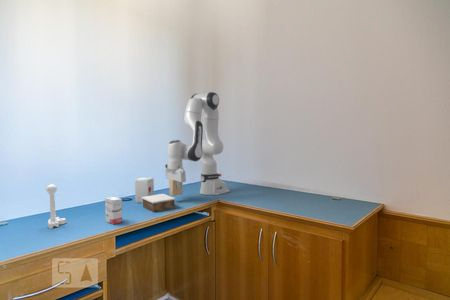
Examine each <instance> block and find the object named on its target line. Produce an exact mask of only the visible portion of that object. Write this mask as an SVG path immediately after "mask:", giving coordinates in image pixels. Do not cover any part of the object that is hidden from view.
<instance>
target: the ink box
mask: <svg viewBox="0 0 450 300" xmlns="http://www.w3.org/2000/svg"><path fill="white" fill-rule="evenodd" d="M104 200H105V202H104V203H105V204H104V205H105V206H104V208H105V222H106V223H110V224H112V225H116V224H120V223H123V201H122V200H123V199H122V198H119V197H116V196H110V197H106V198H105V199H104Z"/></svg>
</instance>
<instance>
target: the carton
mask: <svg viewBox="0 0 450 300" xmlns="http://www.w3.org/2000/svg"><path fill="white" fill-rule="evenodd" d="M168 184H169V185H168V186H169V187H168V188H169V189H168V190H169V192H168V193H169V195H168V196H171V197H176V196H182V195H183V194H184V193H183V192H184V191H183V189H184V188H183V182H181V184H180V188H176V185H177V181H175V180H173V179H168Z"/></svg>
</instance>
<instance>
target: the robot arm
mask: <svg viewBox="0 0 450 300" xmlns="http://www.w3.org/2000/svg"><path fill="white" fill-rule="evenodd" d="M219 104H220V97H219V95H218V93H216V92H214V91H213V92H212V91H210V92H207V91H205V92H204V91H203V92H200V93H194V94H192V95H191V97H190V98H189V100H188V101H187V104H186V106H185V107H186V108H185V111H184V116H183V119H184V121H183V122H184V123H185V125H186V126H187V127H189V129H192V132H193V133H192V135H193V136H192V144H191V145H190V144H189V145H188V144H186V143H184V142H182V141H181V140H179V139H178V140H177V139H176V140H174V139H173V140H172V141H170V142H168V147H167V157H168V161H167V162H168V163H166V164H165V165H164V168H165V178H166V180H169V179H173V180H175V181H177V185H176V188H180V184H181V182H182V183H185V182H186V180H187V176H186V171H185V168H184V167H183V160H184V161H185V160H186V161H192V162H198V161H199V160H200V164H201V165H200V166H201V169H200V170H201V174H200V182H201V184H200V190H199V194H200V195H205V196H206V195H207V196H213V195H214V196H218V195H222V194H226V193H229V192H231V191H230V189H228V188H227V184H226V182H225V181H223V180H222V179H221V178H220V177H222V173H218V167H217V166H218V165H217V162H216V159H214V156H213V155H215V156H216V155H219V154H220V155H221V153H222V152H223V151H224V143H223V142H222V141H221V139H220V135H219V118H220V117H219V107H218V106H219ZM202 112H203V118H202ZM203 132H204V135H205V138H203Z"/></svg>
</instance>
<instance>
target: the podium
mask: <svg viewBox="0 0 450 300" xmlns="http://www.w3.org/2000/svg"><path fill="white" fill-rule="evenodd" d="M142 199H143V203H142V208H145V209H147V211H151V212H153V213H158V212H163V211H167V210H173V209H175V200H176V197H175V196H171V195H167V194H165V193H158V194H154V195H152V196H145V197H142Z"/></svg>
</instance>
